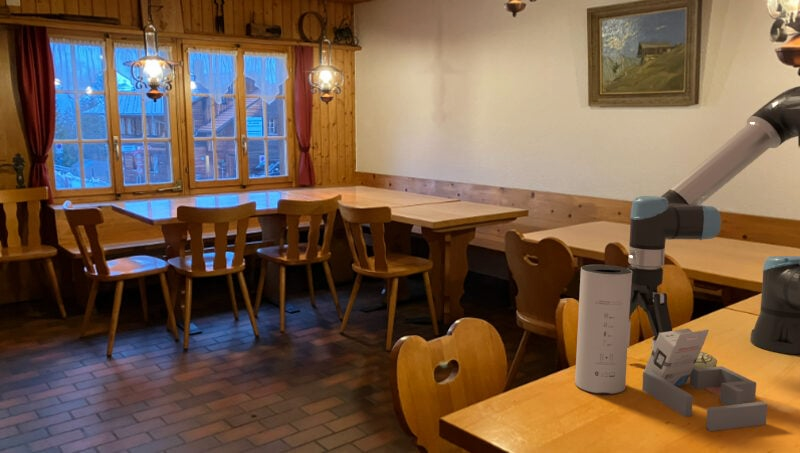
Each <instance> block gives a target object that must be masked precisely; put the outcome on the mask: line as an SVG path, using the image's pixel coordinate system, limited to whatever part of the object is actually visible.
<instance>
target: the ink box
mask: <svg viewBox="0 0 800 453" xmlns="http://www.w3.org/2000/svg"><path fill="white" fill-rule="evenodd" d="M708 334H709V329H702V330H697V331H696V330H695V331H693V330H691V328H689V327H688V328H682V329H678V330H677V329H676V330H673V331H669V332H663V333H659V335H658V338H657V340H656V343H655V345H654V348H653V350H652V349H651V351H652V353H650V356H649V359H648V361H647V364H646V366H645V369H644V371H643V372H646V371H650V372H652V373H654V374H655V375H657V376H659V377H661V378H662V379H664V380H666V381H668V382H669V383H671V384H673V385H674V386H676V387H680V386H685V385H686V384H687V383H688V382H689V380H690V374H691V372H692V369H693V367H694V365H695V363H696V360H697V358H698V356H699V353H700V352H702V349H703V346H704V344H705V342H706V341H705V340H706V338H707V336H708Z"/></svg>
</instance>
